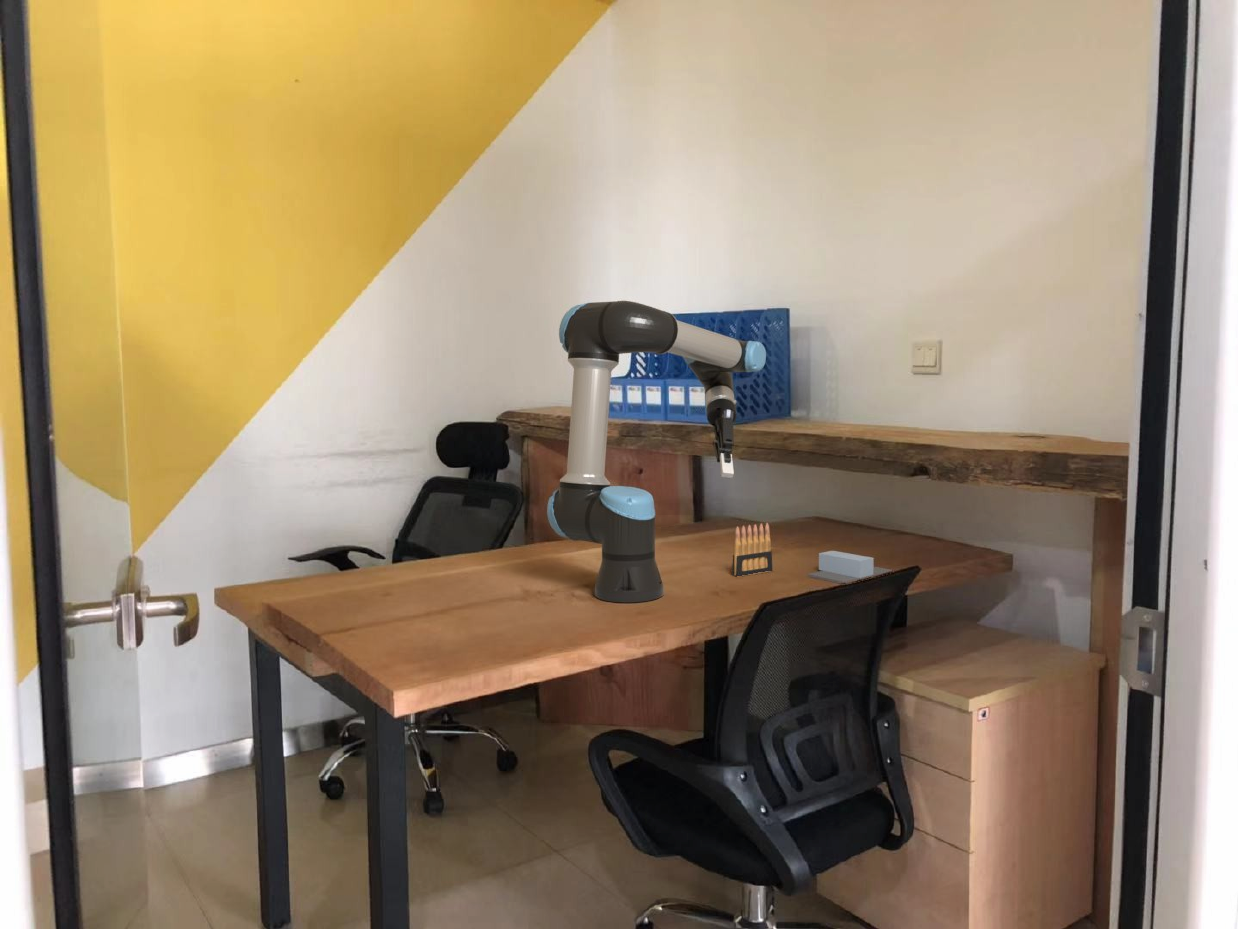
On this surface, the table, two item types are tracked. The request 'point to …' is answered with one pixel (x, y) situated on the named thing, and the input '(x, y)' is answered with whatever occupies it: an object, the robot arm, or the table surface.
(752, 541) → the ammunition clip
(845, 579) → the mat
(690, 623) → the table surface
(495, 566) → the table surface
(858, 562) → the block
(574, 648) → the table surface
